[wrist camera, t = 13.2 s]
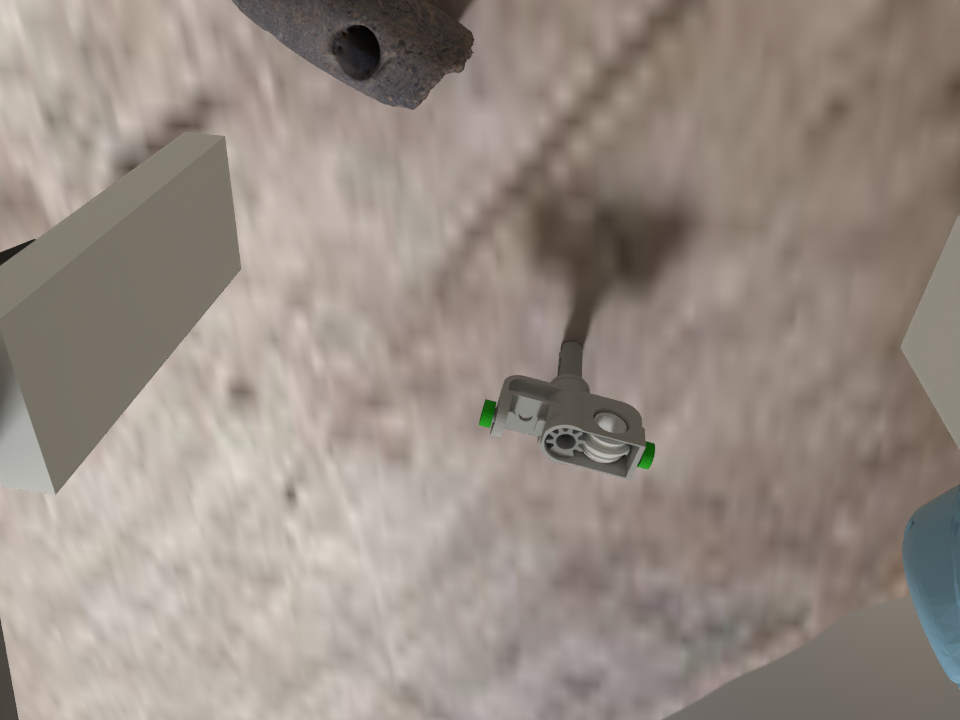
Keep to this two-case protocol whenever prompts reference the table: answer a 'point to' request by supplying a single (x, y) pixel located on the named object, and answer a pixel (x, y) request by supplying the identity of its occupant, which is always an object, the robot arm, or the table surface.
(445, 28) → the perforated stone tool
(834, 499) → the table surface
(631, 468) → the mechanical component
